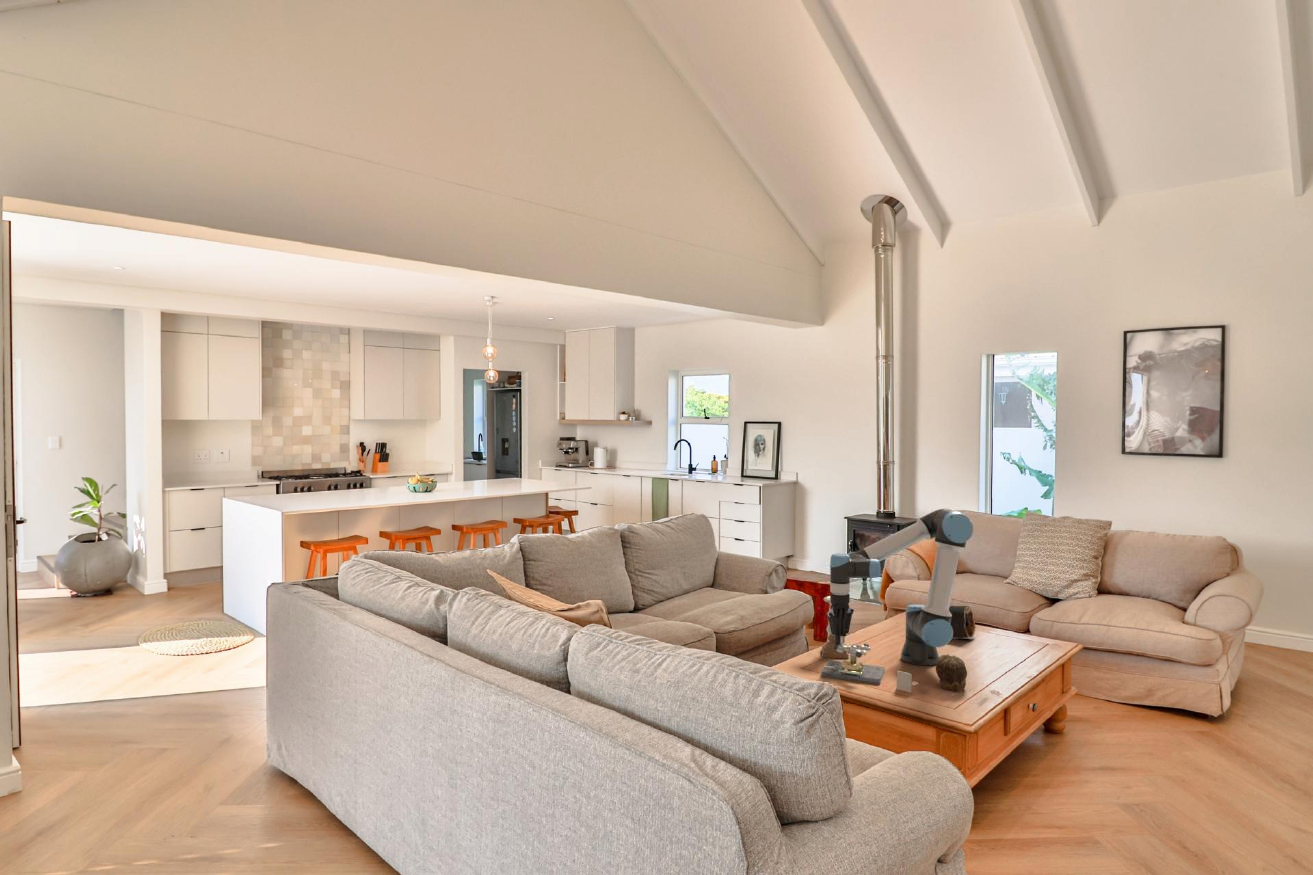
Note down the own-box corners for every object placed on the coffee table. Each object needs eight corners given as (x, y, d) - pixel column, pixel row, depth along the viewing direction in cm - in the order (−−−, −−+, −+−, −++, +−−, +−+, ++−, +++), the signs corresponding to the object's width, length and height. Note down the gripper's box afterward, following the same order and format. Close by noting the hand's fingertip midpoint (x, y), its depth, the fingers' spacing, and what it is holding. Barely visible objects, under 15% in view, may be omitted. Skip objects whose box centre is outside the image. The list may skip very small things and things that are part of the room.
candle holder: (848, 658, 328) (849, 602, 327) (822, 657, 330) (822, 600, 329) (847, 651, 338) (848, 596, 338) (821, 649, 340) (822, 595, 340)
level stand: (884, 671, 311) (884, 661, 311) (879, 684, 296) (880, 673, 296) (828, 664, 319) (828, 655, 319) (821, 676, 304) (821, 666, 304)
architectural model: (900, 687, 294) (900, 668, 294) (918, 692, 289) (918, 672, 289) (896, 690, 292) (896, 670, 291) (914, 694, 287) (914, 674, 287)
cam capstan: (837, 660, 318) (837, 638, 318) (872, 665, 311) (872, 643, 311) (827, 670, 305) (827, 647, 305) (863, 676, 298) (863, 652, 298)
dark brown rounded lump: (930, 683, 298) (931, 652, 298) (958, 682, 299) (958, 651, 299) (943, 693, 287) (943, 660, 287) (972, 692, 288) (972, 660, 288)
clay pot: (918, 602, 379) (971, 600, 364) (925, 633, 379) (978, 632, 364) (908, 612, 367) (962, 610, 352) (915, 644, 367) (970, 643, 352)
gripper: (845, 589, 318) (845, 647, 318) (821, 592, 312) (821, 651, 312) (858, 592, 311) (858, 651, 312) (834, 596, 305) (834, 656, 306)
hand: (840, 651), depth 312 cm, fingers closed
